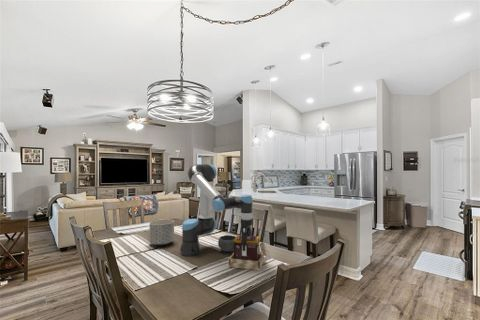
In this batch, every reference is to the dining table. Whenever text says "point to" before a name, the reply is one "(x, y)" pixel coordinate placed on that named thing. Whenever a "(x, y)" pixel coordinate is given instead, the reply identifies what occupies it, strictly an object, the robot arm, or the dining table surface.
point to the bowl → (226, 243)
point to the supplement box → (247, 248)
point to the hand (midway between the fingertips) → (246, 252)
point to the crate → (246, 262)
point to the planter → (161, 232)
